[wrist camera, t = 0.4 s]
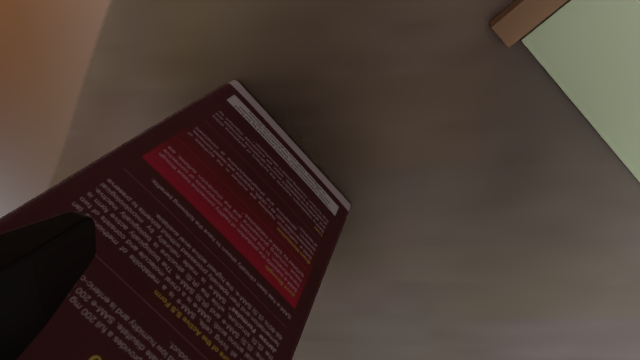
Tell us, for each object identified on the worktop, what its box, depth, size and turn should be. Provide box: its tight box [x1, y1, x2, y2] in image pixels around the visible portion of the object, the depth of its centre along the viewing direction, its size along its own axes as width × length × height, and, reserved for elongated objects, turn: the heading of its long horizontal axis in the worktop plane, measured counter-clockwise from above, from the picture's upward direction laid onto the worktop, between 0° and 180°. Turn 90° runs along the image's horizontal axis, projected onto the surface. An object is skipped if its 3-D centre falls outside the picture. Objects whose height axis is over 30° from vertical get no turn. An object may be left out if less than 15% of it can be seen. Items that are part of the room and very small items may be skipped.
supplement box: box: [0, 80, 351, 360], centre depth 17 cm, size 9×5×16 cm, turn 43°
